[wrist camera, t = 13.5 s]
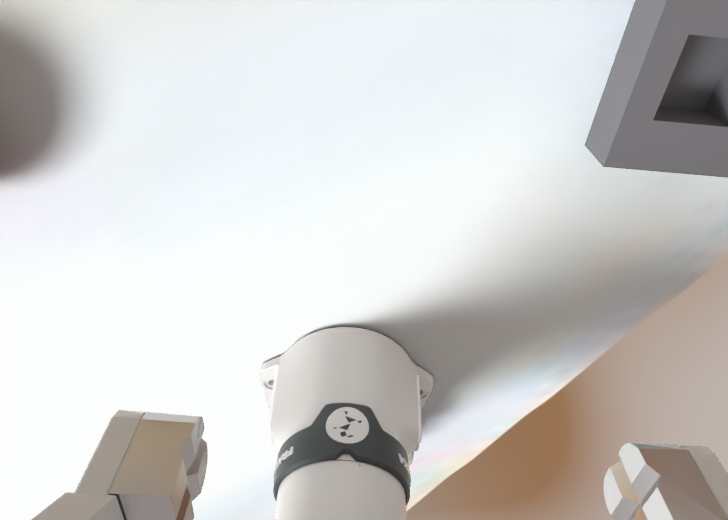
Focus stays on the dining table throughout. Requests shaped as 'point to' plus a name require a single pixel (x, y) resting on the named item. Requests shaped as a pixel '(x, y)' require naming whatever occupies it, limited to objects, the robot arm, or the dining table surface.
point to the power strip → (667, 91)
